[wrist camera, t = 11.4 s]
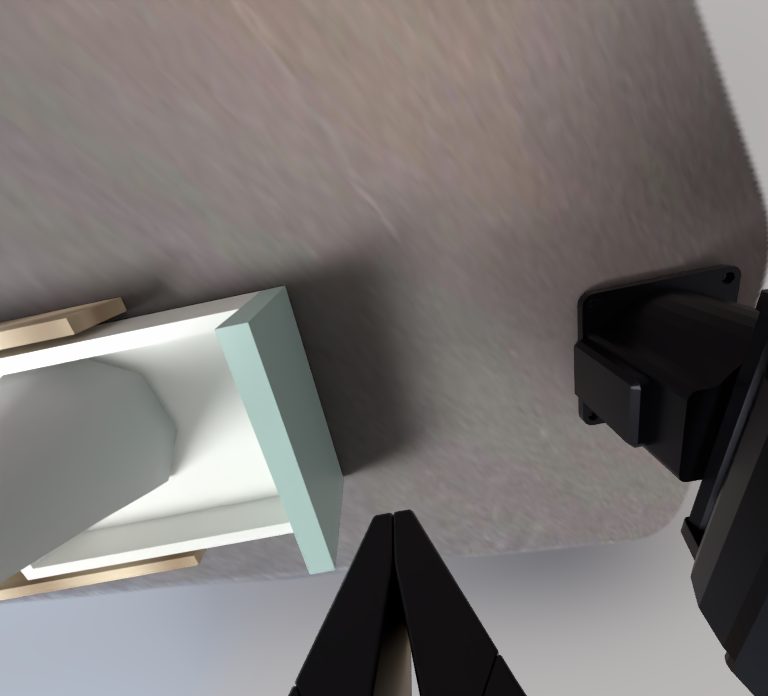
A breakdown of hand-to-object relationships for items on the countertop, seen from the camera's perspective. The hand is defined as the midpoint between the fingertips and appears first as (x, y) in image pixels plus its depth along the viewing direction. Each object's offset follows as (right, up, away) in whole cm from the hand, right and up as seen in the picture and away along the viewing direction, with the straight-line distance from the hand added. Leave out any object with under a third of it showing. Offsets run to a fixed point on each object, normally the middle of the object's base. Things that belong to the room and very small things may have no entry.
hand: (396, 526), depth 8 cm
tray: (-11, 0, +10) cm, 15 cm away
